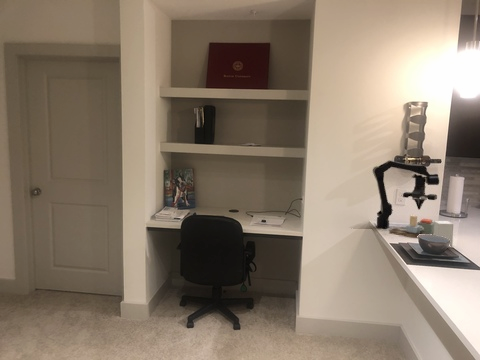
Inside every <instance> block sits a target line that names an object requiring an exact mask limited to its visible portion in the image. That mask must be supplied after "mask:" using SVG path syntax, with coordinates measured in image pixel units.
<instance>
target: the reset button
mask: <svg viewBox="0 0 480 360" xmlns="http://www.w3.org/2000/svg"><path fill="white" fill-rule="evenodd" d="M420 221H421V222H423V223H426V224H430V223H431V222H433V219H428V218H422V219H421V220H420Z"/></svg>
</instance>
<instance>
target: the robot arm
mask: <svg viewBox="0 0 480 360" xmlns="http://www.w3.org/2000/svg"><path fill="white" fill-rule="evenodd" d="M391 168H396V169H400V170H404V171H405V170H406V171H411V172H413V175H411V178H413V179H414V186H413V190H412V191H410V192H409V191H405V192H404V193H402V198H410V197H411V198H412V199H411V200H413V201H414V202H415V204H416V207H417V210H421V208H422V206H423V204H424V202H425V201H426V200H427V199H428V201H436V200H437V199H438V195H437V194H434V193H432V194H431V193H429V194H426V187H427V186H426V185H428V186H438V185H439V184H440V178H439V174H438V173H433V174H432V173H429V172H428V169H427V166H426V165H422V164H408V163H403V162H398V161H393V160H387V161H386V162H383V163H382V164H380V165H378V166H377V165H376V166H374V167H373V168H372V175H373V176H374V178H375V180H376V184H377V185H376V186H377V188H378V189H377V190H378V194H379V200H380V207H379V208H380V210H379V211H378V212H376V214H377V215H376V216H377V217H376V226H375V228H379V229H388V228H390V220H389V219H390V216H391V215H392V214H393V211H394V210H393V204H391V203H390V202H389V201H388V196H387V191H386V187H385V181H384V180H385V179H384V178H385V172H387V171H388V170H389V169H391Z"/></svg>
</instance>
